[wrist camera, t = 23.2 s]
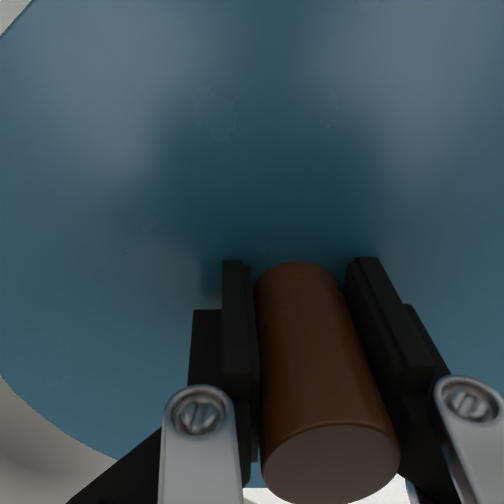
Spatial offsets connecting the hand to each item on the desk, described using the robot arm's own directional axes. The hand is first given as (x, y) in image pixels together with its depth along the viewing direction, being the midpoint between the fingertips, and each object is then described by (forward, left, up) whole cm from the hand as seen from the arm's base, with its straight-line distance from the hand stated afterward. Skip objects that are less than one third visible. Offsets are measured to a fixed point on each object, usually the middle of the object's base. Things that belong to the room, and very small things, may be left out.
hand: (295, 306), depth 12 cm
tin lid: (0, 0, -1) cm, 1 cm away
